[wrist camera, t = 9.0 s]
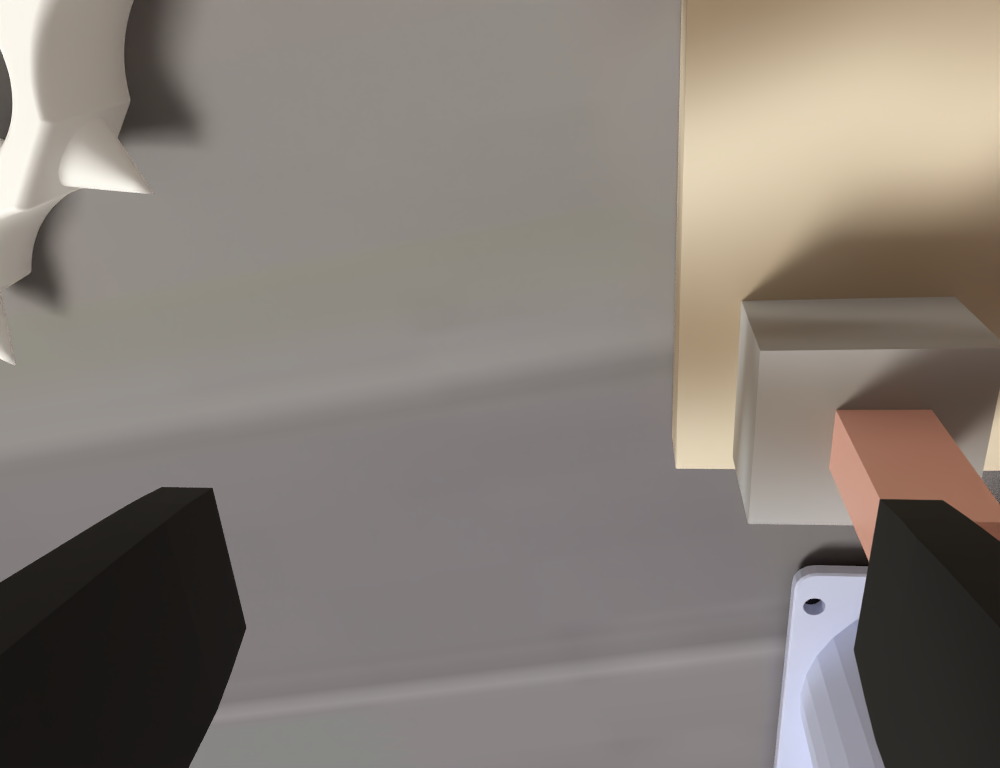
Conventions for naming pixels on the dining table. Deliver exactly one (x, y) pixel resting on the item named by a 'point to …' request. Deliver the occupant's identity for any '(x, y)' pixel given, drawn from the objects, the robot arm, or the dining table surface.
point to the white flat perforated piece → (59, 119)
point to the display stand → (834, 235)
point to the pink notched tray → (903, 467)
